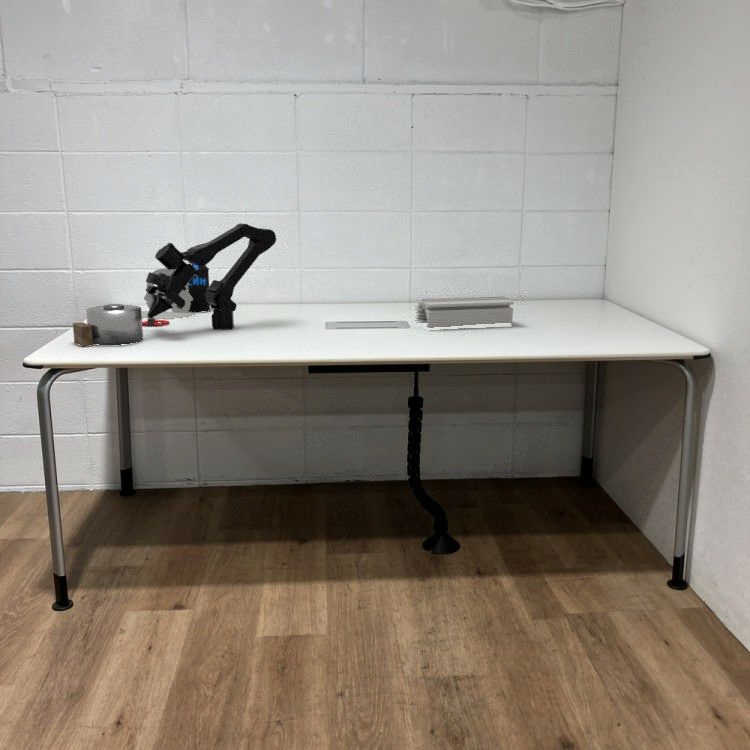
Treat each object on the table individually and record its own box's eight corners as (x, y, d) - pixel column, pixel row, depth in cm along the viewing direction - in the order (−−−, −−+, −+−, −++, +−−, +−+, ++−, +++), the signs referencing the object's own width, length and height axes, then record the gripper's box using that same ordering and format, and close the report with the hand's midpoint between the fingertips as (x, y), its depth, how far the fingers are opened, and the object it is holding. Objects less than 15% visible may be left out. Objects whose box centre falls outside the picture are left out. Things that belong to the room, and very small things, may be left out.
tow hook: (150, 322, 279) (138, 326, 270) (149, 285, 276) (137, 288, 267) (173, 323, 278) (162, 327, 269) (172, 286, 275) (161, 289, 266)
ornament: (197, 314, 294) (195, 269, 290) (184, 320, 281) (181, 273, 277) (141, 312, 297) (138, 267, 293) (125, 318, 284) (122, 271, 280)
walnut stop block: (84, 341, 244) (82, 322, 243) (93, 345, 238) (91, 326, 237) (74, 342, 243) (72, 323, 241) (82, 347, 236) (81, 327, 235)
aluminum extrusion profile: (414, 324, 281) (415, 296, 278) (495, 321, 289) (496, 293, 286) (428, 331, 267) (429, 302, 265) (512, 328, 275) (513, 299, 273)
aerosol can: (193, 308, 306) (190, 256, 301) (213, 309, 305) (211, 256, 300) (185, 312, 298) (182, 258, 293) (206, 313, 297) (204, 259, 292)
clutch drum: (148, 335, 255) (146, 301, 252) (136, 346, 239) (134, 309, 236) (97, 335, 254) (94, 301, 251) (82, 346, 238) (79, 309, 235)
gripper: (149, 260, 257) (118, 297, 254) (173, 265, 243) (140, 305, 239) (174, 282, 264) (144, 319, 260) (198, 289, 250) (167, 327, 246)
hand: (148, 317), depth 251 cm, fingers closed
